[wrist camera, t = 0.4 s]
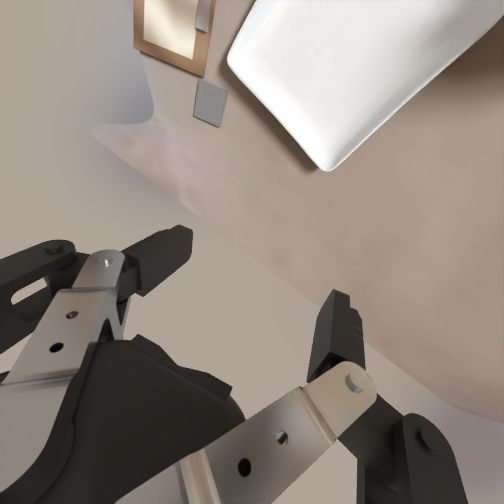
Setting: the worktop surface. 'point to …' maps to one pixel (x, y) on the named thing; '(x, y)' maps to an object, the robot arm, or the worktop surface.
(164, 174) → the worktop surface
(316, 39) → the salad plate
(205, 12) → the clipboard
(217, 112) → the coaster
